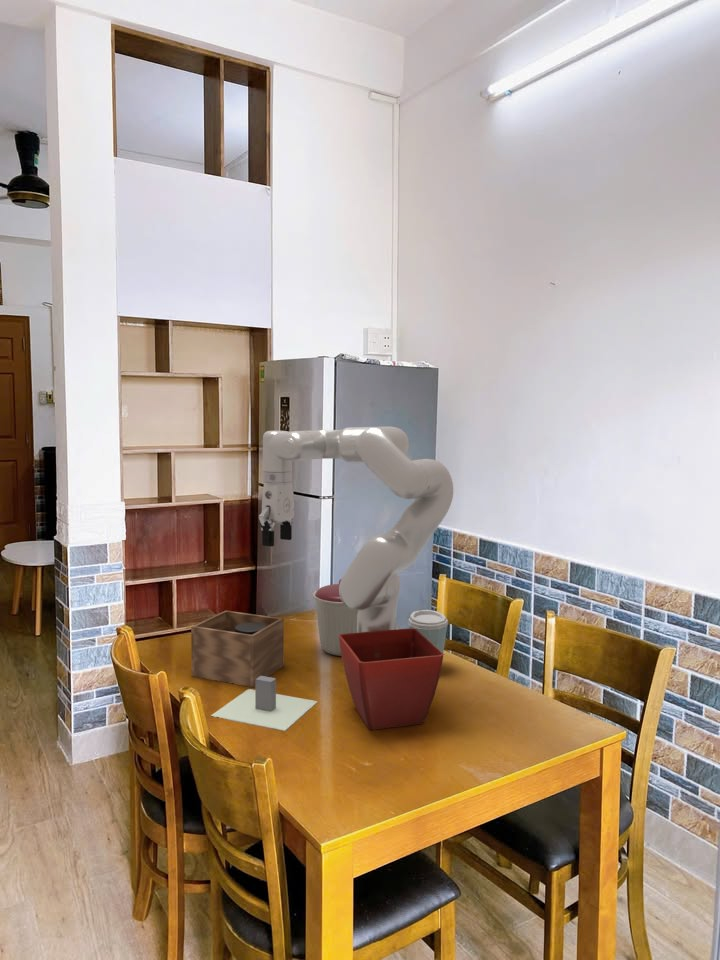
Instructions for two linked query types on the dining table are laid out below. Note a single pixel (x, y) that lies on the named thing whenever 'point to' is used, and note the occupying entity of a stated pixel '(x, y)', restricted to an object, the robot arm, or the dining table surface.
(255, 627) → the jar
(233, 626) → the box
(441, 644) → the disposable coffee cup
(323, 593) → the canister
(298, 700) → the lid
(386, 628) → the robot arm
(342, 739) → the dining table surface
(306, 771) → the dining table surface
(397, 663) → the plant pot
